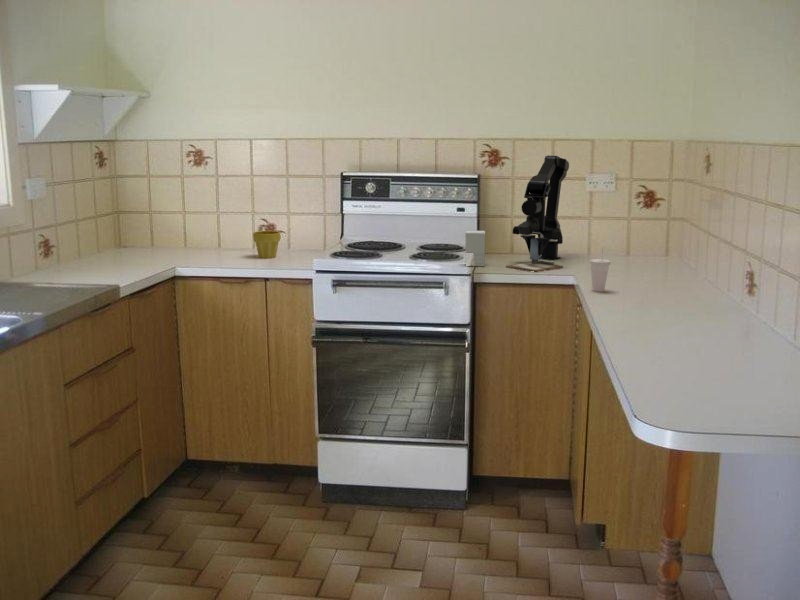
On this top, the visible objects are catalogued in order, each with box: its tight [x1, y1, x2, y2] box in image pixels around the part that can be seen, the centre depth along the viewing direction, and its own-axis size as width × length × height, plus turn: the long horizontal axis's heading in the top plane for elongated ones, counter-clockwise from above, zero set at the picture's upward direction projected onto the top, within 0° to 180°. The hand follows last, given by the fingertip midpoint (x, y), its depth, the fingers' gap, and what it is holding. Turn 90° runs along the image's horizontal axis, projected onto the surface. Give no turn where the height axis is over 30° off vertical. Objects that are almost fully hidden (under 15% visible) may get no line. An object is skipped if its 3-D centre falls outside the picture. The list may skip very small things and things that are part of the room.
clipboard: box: [505, 260, 564, 273], centre depth 308 cm, size 16×14×1 cm
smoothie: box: [589, 246, 611, 293], centre depth 265 cm, size 6×6×14 cm
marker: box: [529, 237, 541, 263], centre depth 312 cm, size 4×4×9 cm
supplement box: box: [464, 230, 486, 267], centre depth 312 cm, size 7×7×13 cm
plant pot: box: [252, 230, 281, 259], centre depth 325 cm, size 10×10×10 cm
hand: (535, 254), depth 313 cm, fingers closed on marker, 4 cm apart
